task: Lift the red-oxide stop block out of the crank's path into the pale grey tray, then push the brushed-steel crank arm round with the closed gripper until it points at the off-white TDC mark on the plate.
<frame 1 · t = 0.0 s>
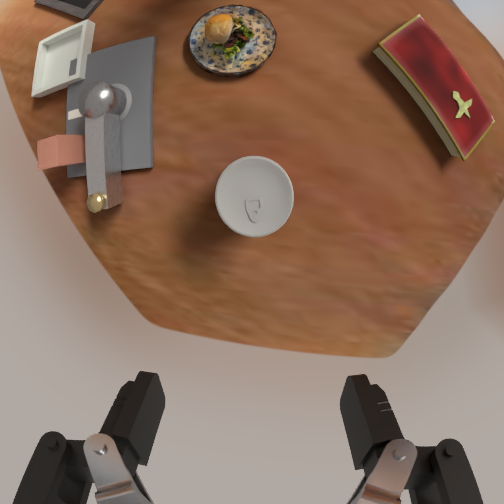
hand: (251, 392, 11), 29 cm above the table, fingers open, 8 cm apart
crank plate: (107, 107, 32), on the table
crank: (101, 144, 31), point 4 cm above the table, hinge at 0.0°
canned food: (255, 184, 37), on the table
tray: (65, 60, 29), on the table
hardcover book: (433, 86, 30), on the table
burger: (232, 41, 30), on the table
stop block: (80, 150, 34), point 1 cm above the table, touching crank plate
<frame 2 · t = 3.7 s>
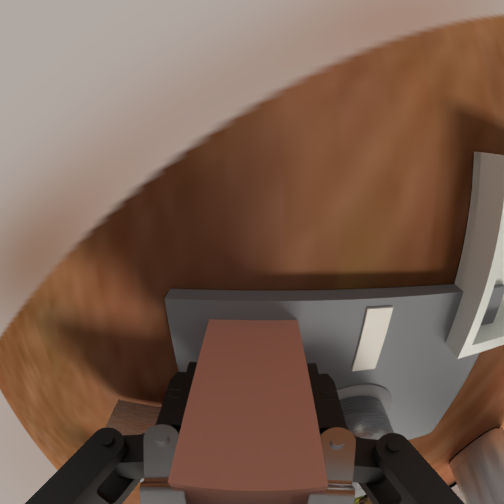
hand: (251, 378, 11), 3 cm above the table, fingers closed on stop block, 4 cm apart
crank plate: (347, 391, 15), on the table
crank: (250, 462, 12), point 4 cm above the table, hinge at 0.0°
stop block: (253, 353, 13), point 1 cm above the table, touching crank plate, gripper
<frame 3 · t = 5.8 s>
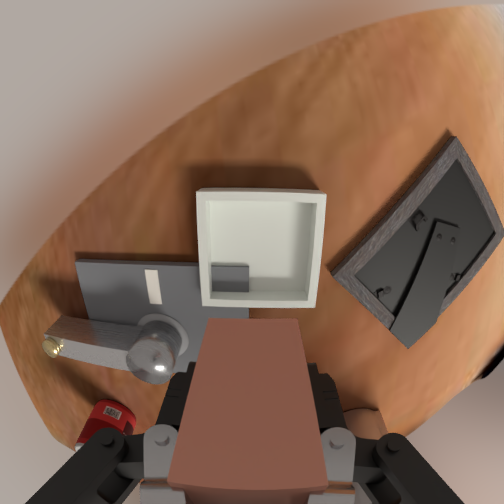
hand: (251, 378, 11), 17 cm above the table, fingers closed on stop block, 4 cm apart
crank plate: (162, 321, 31), on the table
crank: (106, 346, 27), point 4 cm above the table, hinge at 0.0°
canned food: (117, 411, 38), on the table
tray: (259, 244, 27), on the table
picture frame: (431, 247, 28), on the table
stop block: (253, 352, 13), point 15 cm above the table, touching gripper
when the fingers open (4 cm above the table, at t = 8.2 s): stop block drops 2 cm, resting on tray.
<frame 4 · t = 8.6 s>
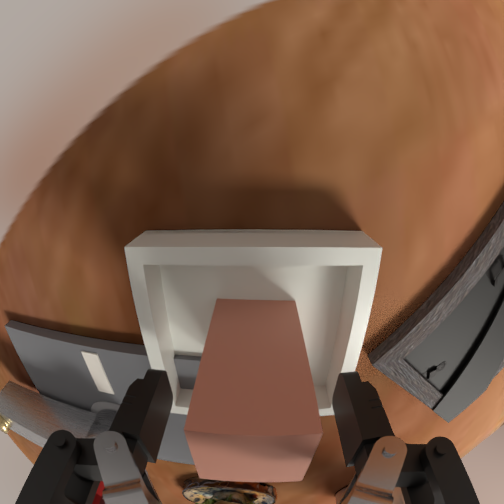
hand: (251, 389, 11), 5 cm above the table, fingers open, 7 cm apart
crank plate: (122, 406, 19), on the table
crank: (57, 432, 16), point 4 cm above the table, hinge at 0.0°
canned food: (95, 469, 27), on the table
tray: (253, 325, 15), on the table
picture frame: (498, 299, 16), on the table
burger: (230, 488, 25), on the table
stop block: (254, 331, 15), point 1 cm above the table, touching tray
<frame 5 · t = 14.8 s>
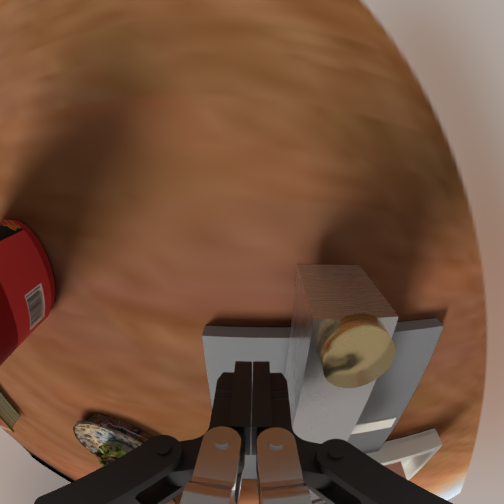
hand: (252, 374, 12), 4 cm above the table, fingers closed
crank plate: (312, 423, 19), on the table
crank: (312, 424, 13), point 4 cm above the table, hinge at -1.1°, touching gripper
canned food: (24, 268, 15), on the table
tray: (376, 462, 22), on the table
burger: (126, 442, 23), on the table
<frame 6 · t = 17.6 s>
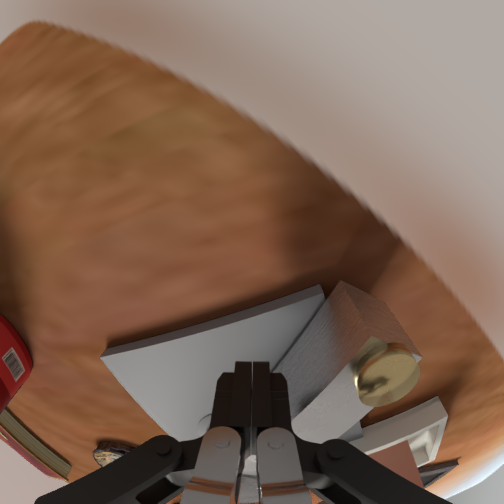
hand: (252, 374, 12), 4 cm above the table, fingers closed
crank plate: (257, 421, 19), on the table
crank: (281, 430, 13), point 4 cm above the table, hinge at -49.0°, touching gripper
canned food: (9, 340, 18), on the table
tray: (384, 444, 20), on the table
picture frame: (384, 487, 27), on the table
hardcover book: (22, 430, 28), on the table
burger: (141, 464, 24), on the table
stop block: (385, 449, 20), point 1 cm above the table, touching tray
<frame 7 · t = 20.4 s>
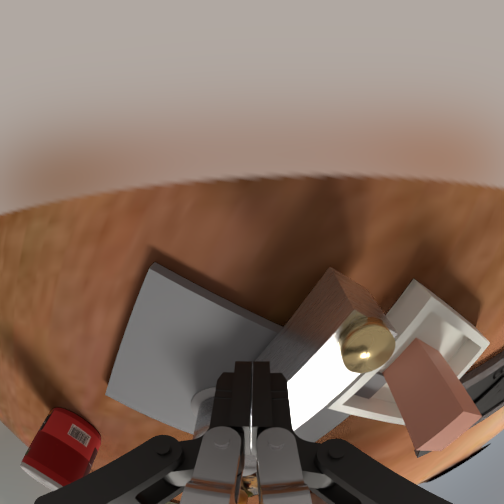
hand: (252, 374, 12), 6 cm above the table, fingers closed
crank plate: (238, 392, 21), on the table
crank: (271, 401, 15), point 4 cm above the table, hinge at -91.1°
canned food: (77, 423, 26), on the table
tray: (409, 357, 19), on the table
picture frame: (483, 388, 23), on the table
burger: (227, 474, 28), on the table
stop block: (412, 362, 19), point 1 cm above the table, touching tray
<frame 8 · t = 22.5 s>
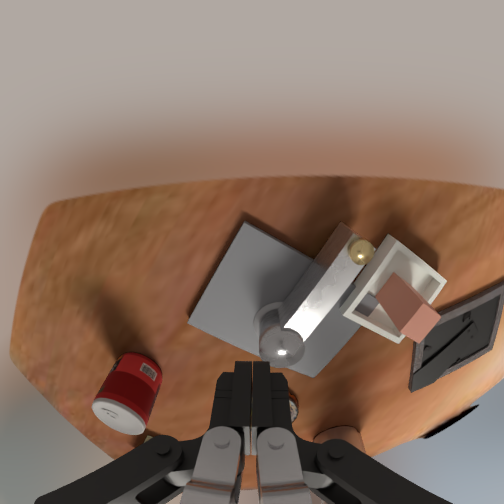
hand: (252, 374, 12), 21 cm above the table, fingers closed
crank plate: (285, 310, 35), on the table
crank: (312, 299, 29), point 4 cm above the table, hinge at -91.1°
canned food: (140, 368, 39), on the table
tray: (391, 288, 33), on the table
picture frame: (458, 334, 37), on the table
burger: (263, 406, 42), on the table
stop block: (393, 291, 33), point 1 cm above the table, touching tray
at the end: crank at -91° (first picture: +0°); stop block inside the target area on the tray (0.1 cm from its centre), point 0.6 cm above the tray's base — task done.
